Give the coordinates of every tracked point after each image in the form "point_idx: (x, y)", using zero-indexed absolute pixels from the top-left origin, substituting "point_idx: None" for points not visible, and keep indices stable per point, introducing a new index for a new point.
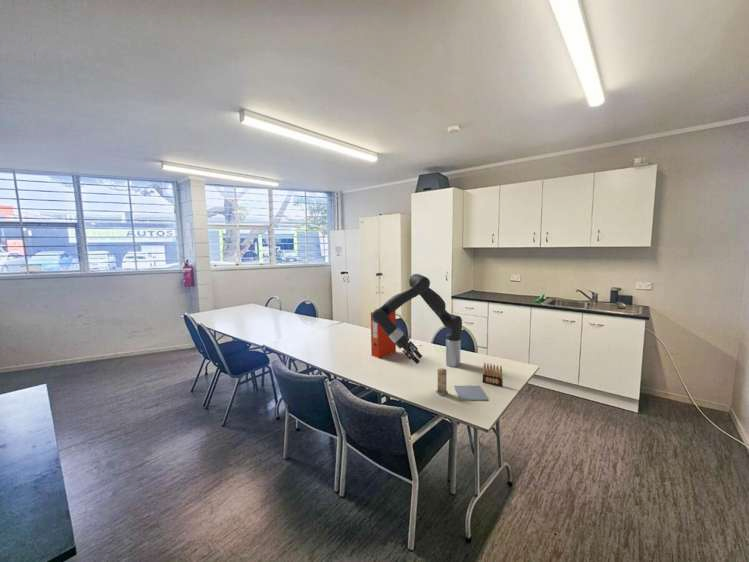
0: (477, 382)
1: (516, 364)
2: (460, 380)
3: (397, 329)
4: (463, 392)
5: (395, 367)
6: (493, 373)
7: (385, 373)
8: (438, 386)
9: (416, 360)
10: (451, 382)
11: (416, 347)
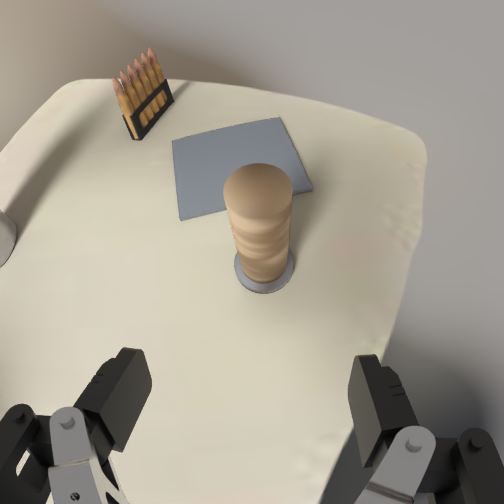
0: (139, 152)
1: (49, 104)
2: (119, 203)
3: None
4: None
5: None
6: (148, 84)
7: None
8: (280, 264)
9: (401, 390)
10: (138, 235)
11: (11, 423)
